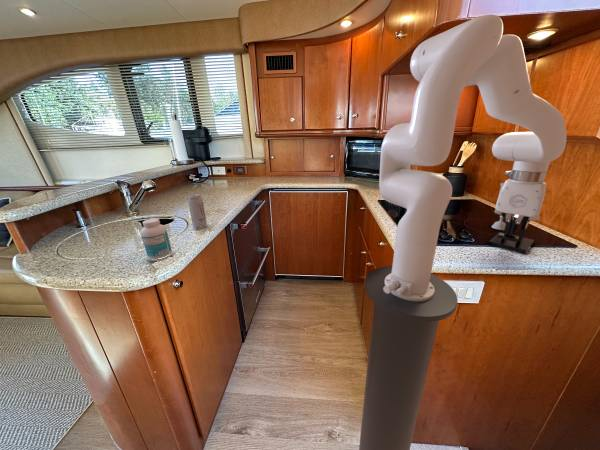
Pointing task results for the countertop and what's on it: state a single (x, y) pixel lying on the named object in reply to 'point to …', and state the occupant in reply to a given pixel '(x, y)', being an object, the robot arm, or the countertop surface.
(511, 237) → the lever
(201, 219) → the energy drink can
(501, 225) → the chalice
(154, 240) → the pill bottle
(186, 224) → the countertop surface
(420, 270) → the robot arm
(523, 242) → the bracket
